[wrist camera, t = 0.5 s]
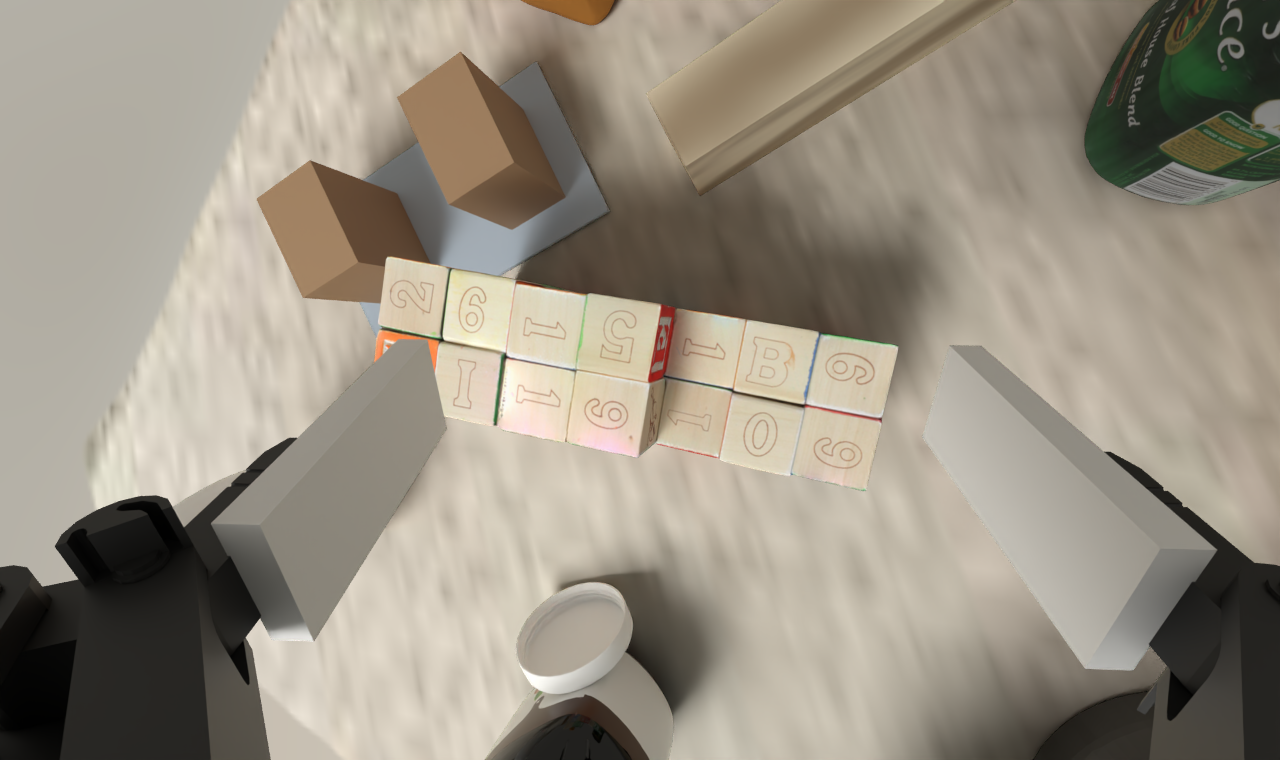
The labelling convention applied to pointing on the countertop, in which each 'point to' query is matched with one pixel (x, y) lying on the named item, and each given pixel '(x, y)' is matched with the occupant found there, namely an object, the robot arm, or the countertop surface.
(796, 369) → the stack of blocks
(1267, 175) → the coffee jar
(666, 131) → the bar
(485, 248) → the build board
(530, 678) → the spread jar
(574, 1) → the coffee package
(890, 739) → the countertop surface
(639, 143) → the countertop surface
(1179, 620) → the robot arm
